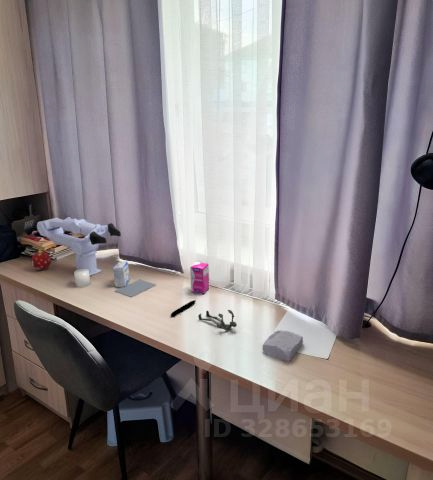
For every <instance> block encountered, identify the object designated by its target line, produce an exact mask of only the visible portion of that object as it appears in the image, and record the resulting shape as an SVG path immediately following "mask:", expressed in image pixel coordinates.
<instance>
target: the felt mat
mask: <svg viewBox="0 0 433 480" xmlns="http://www.w3.org/2000/svg"><path fill="white" fill-rule="evenodd" d="M155 286H157V284H156V283H152V282H149V281H147V280H143V279H137V280H135V281H133V282H131V283H129V284H128V283H127V285H126V287H119V288H118V289H115V290H114V292H115V293H118V294H120V295H121V294H122V295H123V296H127V297H129V298H133V297H135V296H137V295H139V294H141V293H143V292H145V291H148V290H149V289H152V288H153V287H155Z"/></svg>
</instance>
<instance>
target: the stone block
mask: <svg viewBox="0 0 433 480" xmlns="http://www.w3.org/2000/svg"><path fill="white" fill-rule="evenodd" d="M303 339H304V336H302V335H300V334H298V333H295V332H292V331H290V330H289V331H288V330H276V331H274V332H273V333H272V334H270V336H268V337H267V339H265V340H264V342H263V344H262V351H263V353H264V355H266V356H267V357H269V358H273V359H277V360H280V361H285V362H290V361H291V360H292V359H293V357H294V356H295V354H296V353H297V352H298V351H299V350H300V348H301V347H302V346H303V343H304V340H303Z"/></svg>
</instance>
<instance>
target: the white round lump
mask: <svg viewBox="0 0 433 480" xmlns="http://www.w3.org/2000/svg"><path fill="white" fill-rule="evenodd" d="M73 275H74V276H73V277H74V282H75V283H74V284H75V287H77V288H86V287H88V286H90V285H91V278H90V276H89V270H88V269H79V270H77V269H76V270H75V271H73Z"/></svg>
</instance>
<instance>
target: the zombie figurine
mask: <svg viewBox="0 0 433 480" xmlns="http://www.w3.org/2000/svg"><path fill="white" fill-rule="evenodd" d="M205 312H206V313H205V314H206V315H205V316H206V317H207V318H203V317H202V313H199V314H198V320H199V321H205V322H213V323H214V324H215V325H217V327H218V328H220V329H221V328H222V329H225V330H231V329H232V328H236V327H237V326H238V325H237V322H236V321H234V318H235V315H234V312H233V311H232V310H231V309H227V312H228V314H230V316H231V321H230V322H229V323H225V321H224V314H223V313H218V314H217V315H218V316H213V315H211V314H210V312H209V310H206V311H205Z"/></svg>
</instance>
